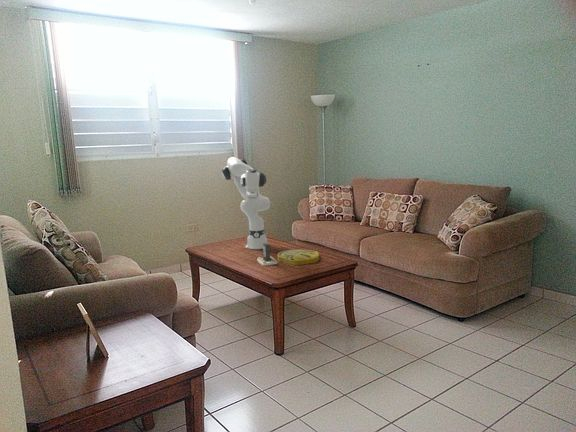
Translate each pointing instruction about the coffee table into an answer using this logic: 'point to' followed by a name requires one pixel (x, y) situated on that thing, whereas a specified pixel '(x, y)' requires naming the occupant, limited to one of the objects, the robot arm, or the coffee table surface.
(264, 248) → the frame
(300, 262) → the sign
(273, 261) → the display stand
